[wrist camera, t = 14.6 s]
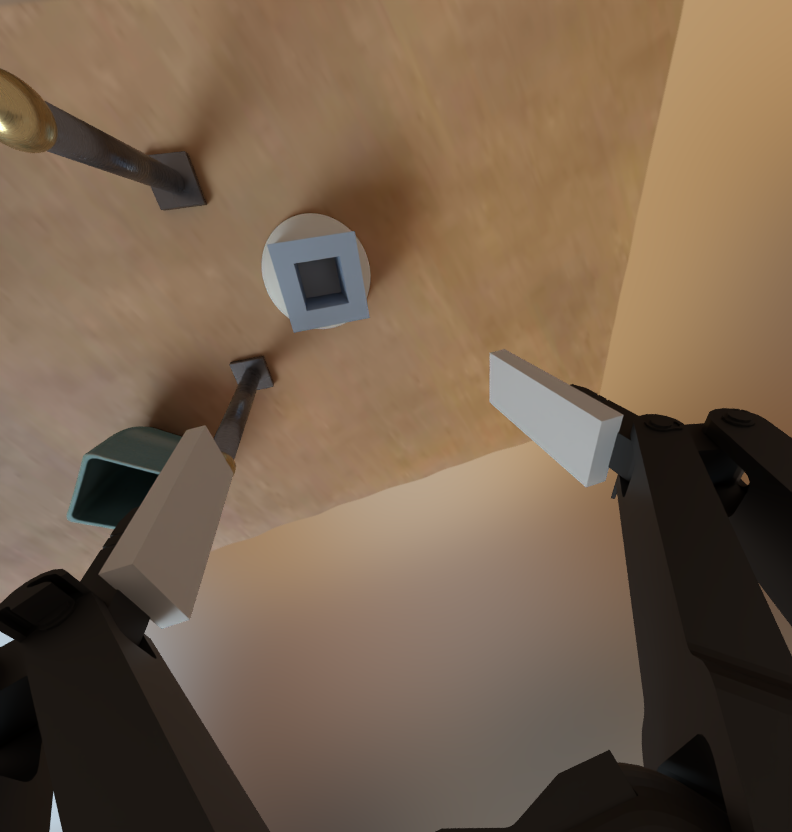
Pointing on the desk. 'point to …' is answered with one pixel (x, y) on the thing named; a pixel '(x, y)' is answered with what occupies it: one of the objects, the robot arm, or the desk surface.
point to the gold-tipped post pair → (166, 174)
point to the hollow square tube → (324, 307)
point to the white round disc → (316, 273)
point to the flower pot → (119, 475)
